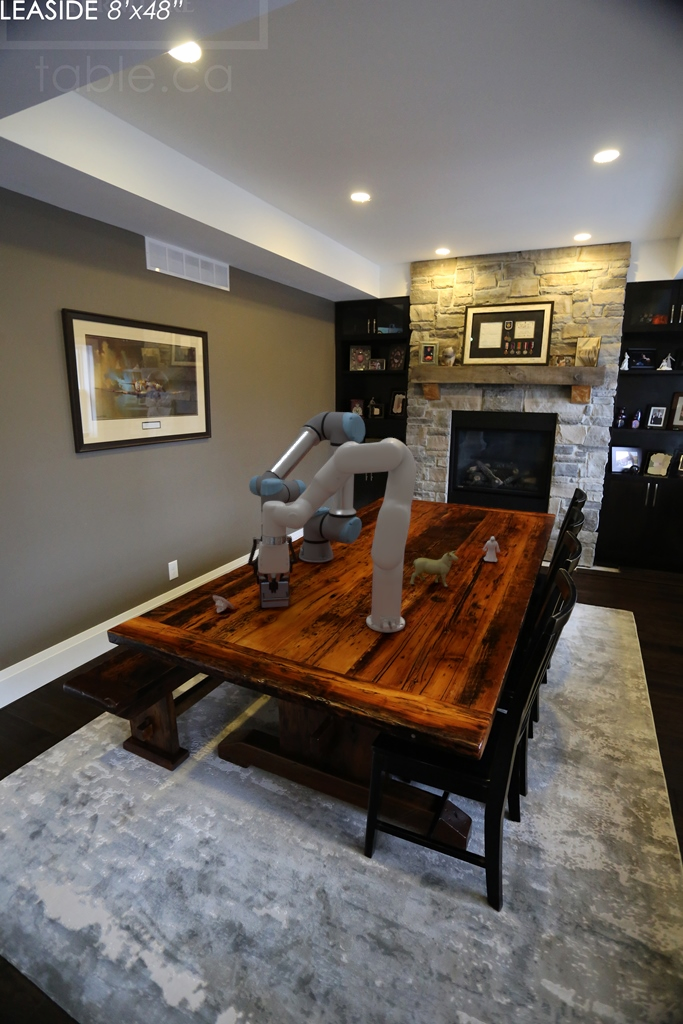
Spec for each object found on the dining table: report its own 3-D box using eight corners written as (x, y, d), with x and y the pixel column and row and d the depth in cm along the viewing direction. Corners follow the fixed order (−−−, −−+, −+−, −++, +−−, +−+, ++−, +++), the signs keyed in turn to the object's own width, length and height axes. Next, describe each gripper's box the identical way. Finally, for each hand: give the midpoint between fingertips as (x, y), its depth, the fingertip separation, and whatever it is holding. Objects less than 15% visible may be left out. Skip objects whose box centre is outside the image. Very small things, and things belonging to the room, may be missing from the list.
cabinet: (289, 605, 175) (289, 577, 172) (260, 607, 173) (259, 578, 170) (286, 590, 188) (286, 563, 185) (259, 591, 186) (258, 564, 183)
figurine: (481, 562, 222) (483, 536, 219) (482, 556, 230) (484, 531, 227) (499, 564, 220) (501, 538, 217) (499, 558, 228) (501, 533, 225)
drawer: (289, 613, 167) (289, 589, 164) (262, 615, 165) (262, 591, 163) (285, 591, 184) (285, 569, 182) (260, 593, 182) (260, 570, 180)
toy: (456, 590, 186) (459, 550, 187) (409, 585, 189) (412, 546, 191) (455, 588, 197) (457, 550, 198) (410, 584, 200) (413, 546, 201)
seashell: (218, 620, 170) (203, 603, 170) (229, 610, 174) (214, 593, 173) (227, 616, 164) (211, 598, 164) (238, 606, 168) (222, 587, 167)
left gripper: (303, 519, 181) (303, 576, 187) (239, 521, 177) (241, 579, 182) (305, 524, 174) (305, 584, 179) (239, 527, 170) (241, 587, 175)
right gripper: (295, 535, 167) (294, 586, 171) (250, 536, 164) (250, 588, 169) (298, 542, 160) (296, 595, 164) (250, 543, 157) (250, 597, 162)
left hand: (273, 582), depth 181 cm, fingers closed on cabinet, 10 cm apart
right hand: (273, 591), depth 167 cm, fingers closed
